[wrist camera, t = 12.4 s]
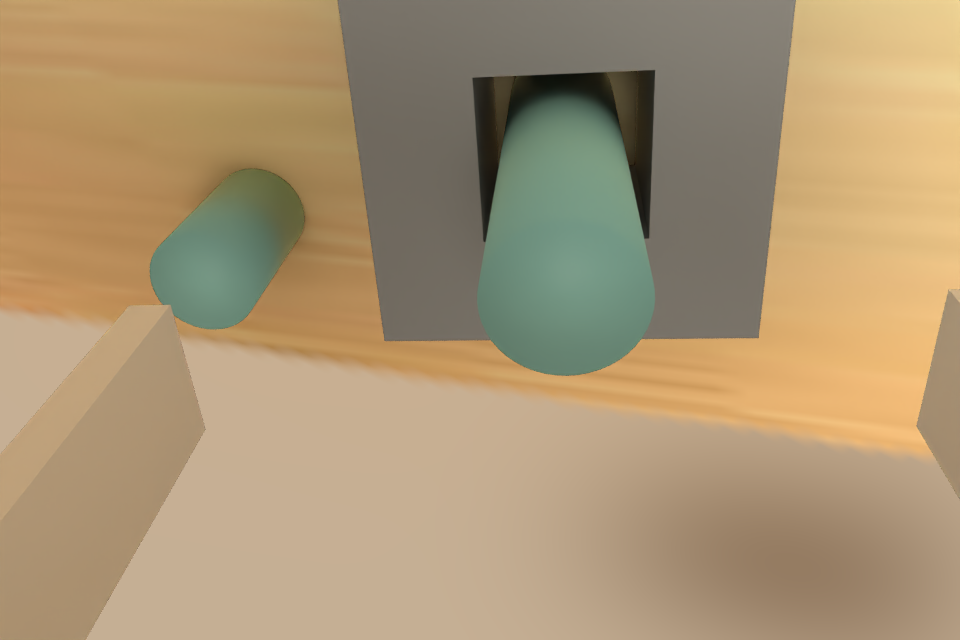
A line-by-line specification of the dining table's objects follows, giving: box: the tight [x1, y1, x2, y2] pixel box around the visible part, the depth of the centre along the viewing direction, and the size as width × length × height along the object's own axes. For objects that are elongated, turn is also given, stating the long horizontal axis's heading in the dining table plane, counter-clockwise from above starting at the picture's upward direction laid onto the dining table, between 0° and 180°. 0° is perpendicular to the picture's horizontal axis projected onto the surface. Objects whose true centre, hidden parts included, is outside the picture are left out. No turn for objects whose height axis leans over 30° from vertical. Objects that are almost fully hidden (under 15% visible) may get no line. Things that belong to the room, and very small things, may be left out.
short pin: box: [150, 169, 305, 329], centre depth 31 cm, size 4×4×6 cm
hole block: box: [338, 0, 796, 341], centre depth 28 cm, size 12×12×6 cm
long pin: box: [477, 72, 655, 376], centre depth 24 cm, size 4×4×15 cm
